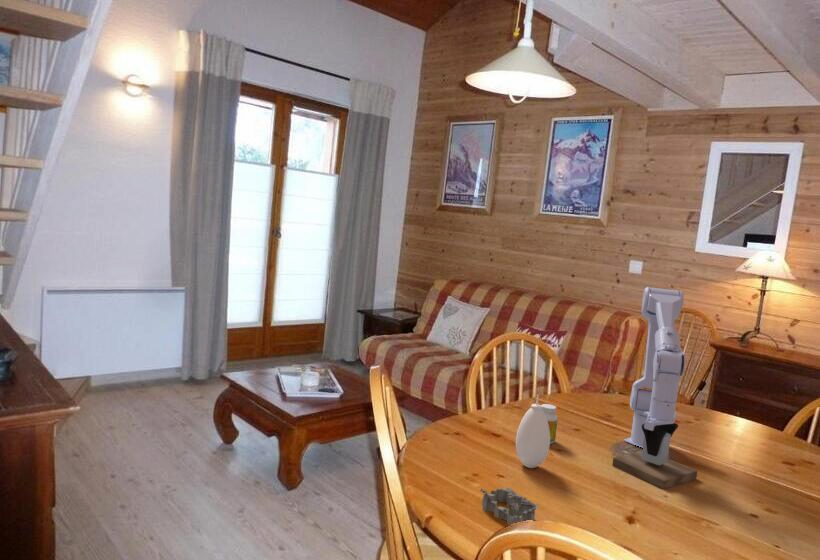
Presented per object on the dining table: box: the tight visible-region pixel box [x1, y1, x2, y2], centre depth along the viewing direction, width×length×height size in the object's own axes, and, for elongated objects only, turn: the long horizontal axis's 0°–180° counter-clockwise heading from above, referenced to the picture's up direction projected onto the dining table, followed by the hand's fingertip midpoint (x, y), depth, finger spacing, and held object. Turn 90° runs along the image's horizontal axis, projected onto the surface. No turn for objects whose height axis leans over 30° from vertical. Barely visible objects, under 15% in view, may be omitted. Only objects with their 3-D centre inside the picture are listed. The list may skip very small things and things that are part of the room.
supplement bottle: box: [540, 403, 559, 445], centre depth 161 cm, size 5×5×10 cm
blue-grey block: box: [641, 433, 672, 466], centre depth 145 cm, size 5×5×7 cm
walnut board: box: [612, 450, 698, 490], centre depth 146 cm, size 14×14×2 cm
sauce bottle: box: [515, 394, 551, 469], centre depth 142 cm, size 8×8×18 cm
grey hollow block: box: [480, 487, 540, 526], centre depth 118 cm, size 11×8×4 cm
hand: (656, 452), depth 145 cm, fingers closed on blue-grey block, 5 cm apart
